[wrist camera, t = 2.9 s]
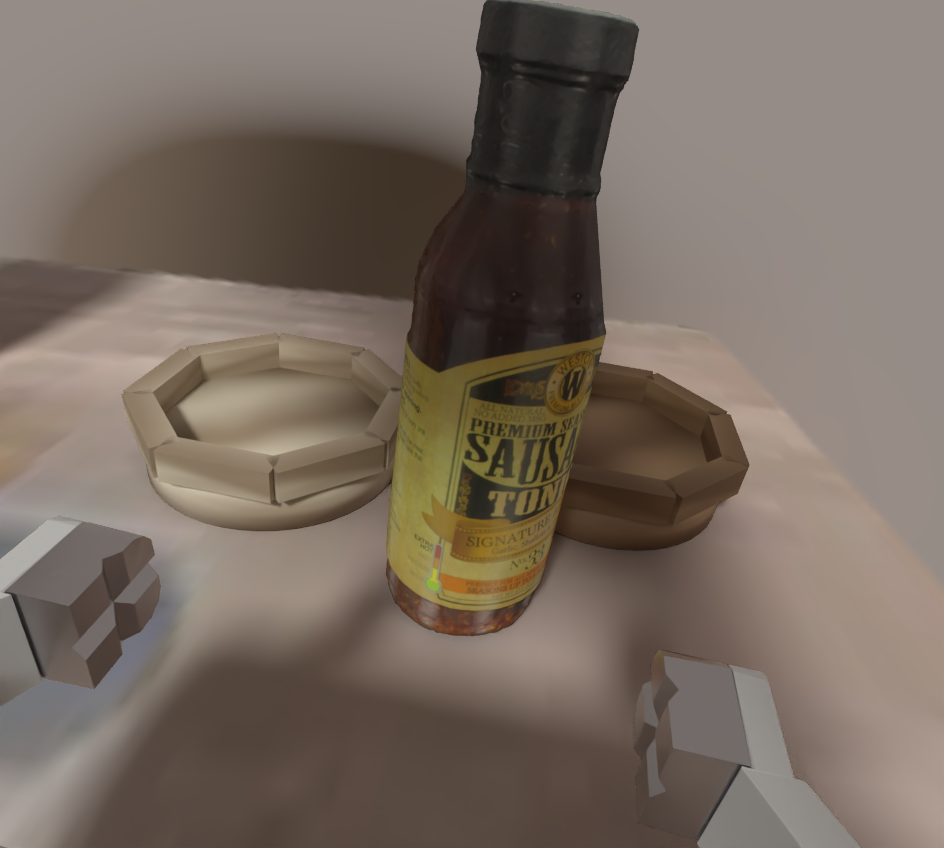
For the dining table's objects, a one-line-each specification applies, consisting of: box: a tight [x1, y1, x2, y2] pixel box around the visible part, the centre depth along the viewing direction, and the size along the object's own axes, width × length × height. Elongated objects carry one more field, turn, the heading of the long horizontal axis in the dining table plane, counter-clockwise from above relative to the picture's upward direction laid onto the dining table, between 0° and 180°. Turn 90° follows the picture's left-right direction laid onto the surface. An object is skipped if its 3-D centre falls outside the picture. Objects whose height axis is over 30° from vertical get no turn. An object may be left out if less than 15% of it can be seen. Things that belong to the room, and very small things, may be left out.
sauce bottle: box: [386, 0, 639, 636], centre depth 21 cm, size 7×6×20 cm
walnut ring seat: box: [554, 362, 749, 550], centre depth 33 cm, size 12×12×4 cm
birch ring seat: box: [122, 333, 403, 531], centre depth 31 cm, size 12×12×4 cm
